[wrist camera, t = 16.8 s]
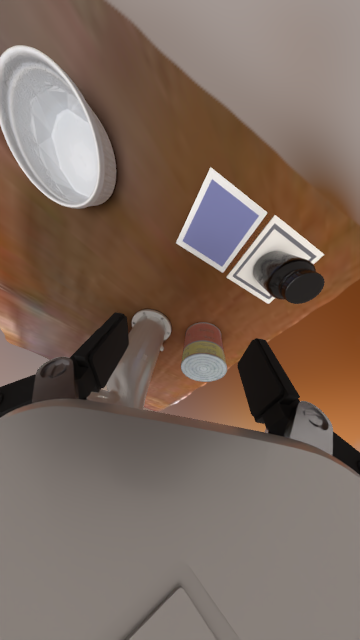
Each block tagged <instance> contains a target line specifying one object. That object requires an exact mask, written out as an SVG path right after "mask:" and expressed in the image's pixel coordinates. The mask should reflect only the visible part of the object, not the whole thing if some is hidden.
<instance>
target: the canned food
mask: <svg viewBox="0 0 360 640" xmlns="http://www.w3.org/2000/svg"><path fill="white" fill-rule="evenodd" d="M181 370H182V372H183V373H184V374H185V375H186V376H187V377H189V378H191V379H193V380H196V381H202V382H210V381H215V380H218V379H220V378H222V377H223V376H224V375H225V374H226V372H227V366H226V362H225V356H224V350H223V344H222V338H221V332H220V330H219V329H218V328H217V327H216V326H215V325H213V324H210V323H205V322H201V323H196V324H193V325H192V326H190V327H189V328H188V329H187V331H186V334H185V343H184V350H183V357H182V363H181Z"/></svg>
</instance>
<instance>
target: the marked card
mask: <svg viewBox="0 0 360 640" xmlns="http://www.w3.org/2000/svg"><path fill="white" fill-rule="evenodd" d="M272 251H282V252H285V253H288V254H291V255H294V256H297V257H300V258H303V259H306V260H308V261H310V262H311V263H312V264H314V263H315V262H316V261H318V260H319V259H320V258H321V257H322V256H323V255H324V254H323V253H322V252H321V251H319V250H318V249H317V248H316V247H314V246H313V245H312V244H311V243H309V242H308V241H307V240H306V239H304V238H303V237H302V236H301V235H300V234H298V233H297V232H296V231H295V230H293V229H292V228H291V227H290V226H288V225H287V224H286V223H285V222H283V221H282V220H281V219H280V218H278V217H277V216H276V215H274V216H273V217H272V219H271V220H270V221H269V223H268V224H267V225H266V227H265V228H264V229H263V230H262V232H261V233H260V234H259V236H258V237H257V238H256V239H255V241H254V242H253V243H252V245H251V246H250V247H249V248H248V250H247V251H246V252H245V254H244V255H243V256H242V257H241V259H240V260H239V261H238V263H237V264H236V265H235V266H234V268H233V269H232V270H231V272H230V273H229V274H228V275H227V277H226V278H228V279H230V280H231V281H233V282H234V283H236V284H238V285H239V286H241V287H242V288H244V289H246V290H247V291H249V292H250V293H252V294H253V295H255V296H257V297H258V298H260V299H261V300H263V301H265V302H266V303H268V304H269V303H270V302H271V301H272V300H273V299H275V298H274V297H273V296H271V295H270V294H269V293H268V292H267V291H266V290H265V289H264V288H263V287H262V286H261V285H260V284H259V283H258V282H257V281H256V280H255V278H254V275H253V269H254V266H255V264H256V262H257V261H258V260H259V259H260V258H261V257H262V256H263V255H265V254H267V253H269V252H272Z"/></svg>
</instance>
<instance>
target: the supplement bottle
mask: <svg viewBox="0 0 360 640" xmlns="http://www.w3.org/2000/svg"><path fill="white" fill-rule="evenodd" d="M253 275H254V278H255V280H256V281H257V282H258V283H259V284H260V285H261V286H262V287H263V288H264V289H265V290H266V291H267V292H268V293H269V294H270V295H271V296H273V297H274V298H277V299H286V300H287V301H288V302H290V303H294V304H296V303H297V304H299V303H305V302H307V301H309V300H312V299H313V298H314V297H316V296H317V295H318V294H319V293H320V292H321V290H322V289H323V286H324V279H323V276H321V274H319V273H317V272H316V269H315V266H314V265H313V264H312V263H311V262H310V261H308V260H306V259H303V258H300V257H297V256H294V255H291V254H288V253H285V252H282V251H272V252H269V253H267V254H265V255H263V256H262V257H261V258H260V259H259V260H258V261H257V262H256V264H255V266H254V269H253Z"/></svg>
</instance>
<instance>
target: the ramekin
mask: <svg viewBox="0 0 360 640" xmlns="http://www.w3.org/2000/svg"><path fill="white" fill-rule="evenodd" d="M0 125H1V128H2V131H3V134H4V136H5V139H6V141H7V143H8V146H9V148H10V150H11V152H12V154H13V156H14V157H15V159H16V161H17V162H18V164H19V165H20V167H21V169H22V170H23V171H24V173H25V174H26V175H27V177H28V178H29V179H30V180H31V182H32V183H33V184H34V185H35V186H36V187H37V188H38V189H39V190H40V191H41V192H42V193H43V194H45V195H46V196H47V197H48V198H50V199H51V200H53V201H54V202H56V203H58V204H60V205H63V206H66V207H70V208H77V209H80V208H86V207H88V206H96V205H99V204H102V203H104V202H105V201H106V200H108V199H109V197H110V196H111V194H112V193H113V190H114V187H115V183H116V162H115V156H114V152H113V149H112V146H111V142H110V140H109V138H108V135H107V133H106V132H105V129H104V127H103V125H102V124H101V122H100V121H99V119H98V117H97V116H96V115H95V113H94V112H93V111H92V109H91V108H90V106H89V105H88V104H87V102H86V101H85V99H84V97H83V96H82V94H81V92H80V91H79V89H78V88H77V86H76V85H75V84H74V82H73V81H72V80H71V79H70V77H69V76H68V75H67V74H66V73H65V72H64V71H63V70H62V69H61V68H60V67H59V66H58V65H57V64H56V63H55V62H54V61H53V60H52V59H50V58H49V57H48V56H47V55H45V54H44V53H42V52H41V51H39V50H37V49H35V48H32V47H28V46H21V45H18V46H13V47H11V48H8V49H7V50H6V51H5V52H4V53H3V54H2V55H1V57H0Z"/></svg>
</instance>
